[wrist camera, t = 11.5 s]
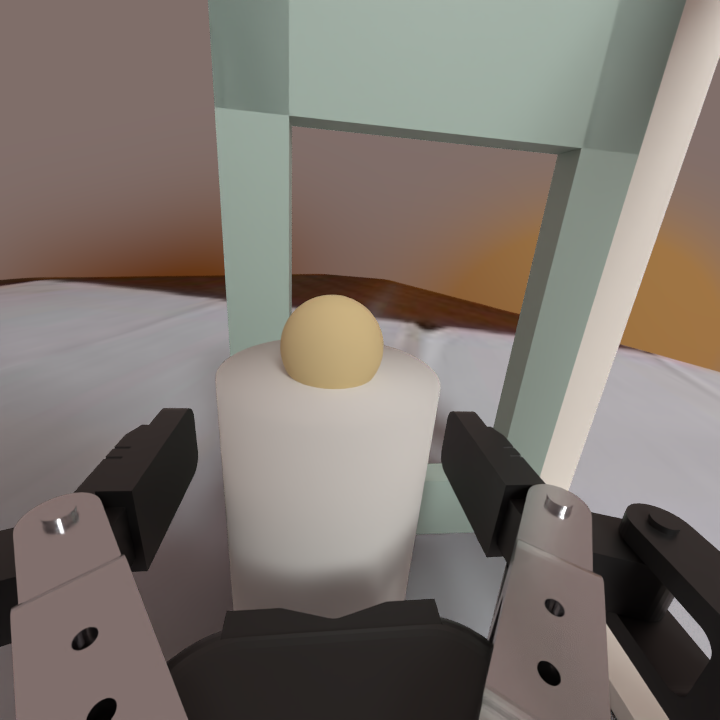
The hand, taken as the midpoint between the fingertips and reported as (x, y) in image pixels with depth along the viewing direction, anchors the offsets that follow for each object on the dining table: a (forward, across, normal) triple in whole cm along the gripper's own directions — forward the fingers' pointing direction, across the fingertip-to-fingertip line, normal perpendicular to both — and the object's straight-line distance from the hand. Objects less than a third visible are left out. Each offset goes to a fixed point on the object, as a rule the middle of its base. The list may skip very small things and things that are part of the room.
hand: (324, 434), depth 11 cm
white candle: (-2, 0, +8) cm, 8 cm away
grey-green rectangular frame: (+4, -3, +7) cm, 8 cm away
